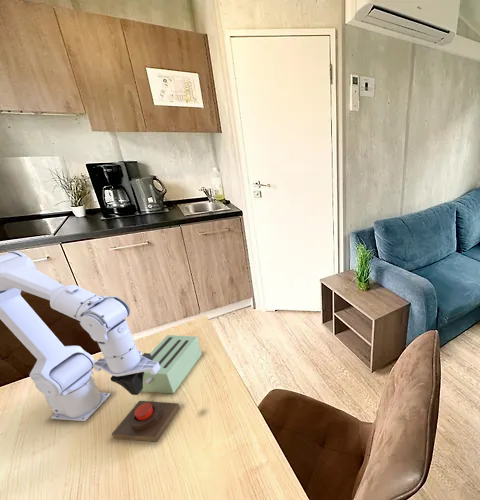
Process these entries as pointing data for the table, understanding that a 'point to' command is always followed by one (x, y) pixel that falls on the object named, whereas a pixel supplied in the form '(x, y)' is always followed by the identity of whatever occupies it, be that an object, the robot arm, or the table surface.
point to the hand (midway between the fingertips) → (137, 391)
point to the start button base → (147, 422)
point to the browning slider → (147, 356)
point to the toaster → (172, 363)
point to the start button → (143, 411)
